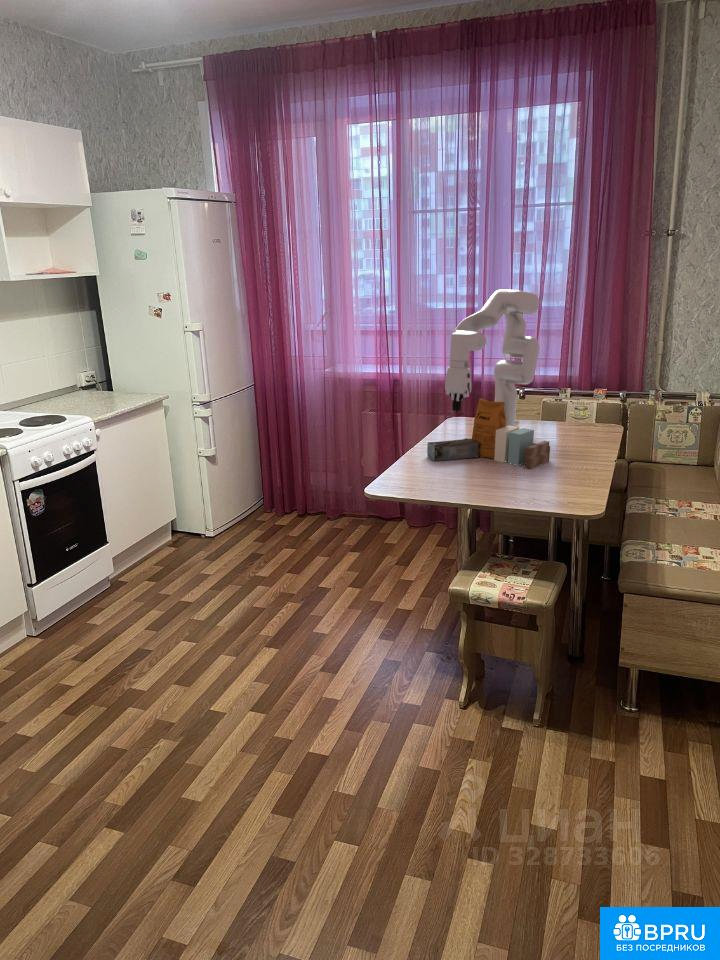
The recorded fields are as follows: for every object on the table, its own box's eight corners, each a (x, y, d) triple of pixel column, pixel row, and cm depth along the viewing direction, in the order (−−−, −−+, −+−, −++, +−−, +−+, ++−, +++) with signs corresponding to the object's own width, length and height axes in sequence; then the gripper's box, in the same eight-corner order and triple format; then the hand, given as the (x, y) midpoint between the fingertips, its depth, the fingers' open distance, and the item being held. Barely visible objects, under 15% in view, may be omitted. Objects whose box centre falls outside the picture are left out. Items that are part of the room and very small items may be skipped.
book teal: (521, 458, 287) (523, 428, 283) (531, 460, 284) (534, 429, 280) (507, 463, 280) (509, 432, 276) (518, 465, 277) (520, 434, 273)
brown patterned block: (504, 452, 295) (505, 432, 293) (549, 461, 282) (550, 441, 280) (483, 459, 285) (484, 439, 282) (528, 469, 272) (530, 448, 269)
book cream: (506, 455, 291) (508, 425, 287) (517, 457, 288) (519, 427, 285) (494, 460, 284) (495, 430, 280) (504, 462, 281) (506, 431, 277)
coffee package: (480, 449, 299) (483, 396, 292) (507, 455, 291) (511, 400, 284) (466, 454, 292) (469, 399, 285) (493, 460, 284) (497, 403, 277)
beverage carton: (426, 456, 288) (426, 440, 286) (470, 453, 294) (471, 436, 292) (434, 461, 281) (434, 445, 279) (479, 458, 287) (480, 441, 285)
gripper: (480, 365, 289) (477, 411, 294) (449, 361, 298) (446, 406, 304) (469, 367, 283) (466, 414, 289) (438, 363, 293) (435, 408, 298)
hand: (456, 410), depth 296 cm, fingers closed
